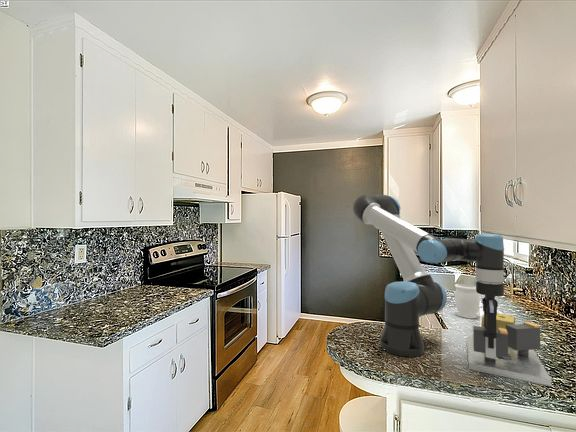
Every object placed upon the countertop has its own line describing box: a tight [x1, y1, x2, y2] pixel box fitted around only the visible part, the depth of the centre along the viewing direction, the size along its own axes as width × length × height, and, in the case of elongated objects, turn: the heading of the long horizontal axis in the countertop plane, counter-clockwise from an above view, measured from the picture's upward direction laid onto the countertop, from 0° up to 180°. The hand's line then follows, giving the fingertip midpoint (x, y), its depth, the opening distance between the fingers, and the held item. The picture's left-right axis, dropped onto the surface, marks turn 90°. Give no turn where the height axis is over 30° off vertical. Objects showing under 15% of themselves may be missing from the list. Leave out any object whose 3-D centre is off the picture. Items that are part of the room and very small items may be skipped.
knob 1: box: [472, 325, 508, 362], centre depth 98 cm, size 9×4×10 cm, turn 61°
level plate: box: [466, 337, 552, 387], centre depth 101 cm, size 20×24×3 cm
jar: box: [454, 283, 480, 319], centre depth 150 cm, size 11×10×15 cm
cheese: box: [480, 312, 516, 330], centre depth 118 cm, size 10×11×10 cm
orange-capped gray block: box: [506, 321, 541, 357], centre depth 101 cm, size 9×4×10 cm, turn 99°
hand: (489, 354), depth 97 cm, fingers closed on knob 1, 4 cm apart
